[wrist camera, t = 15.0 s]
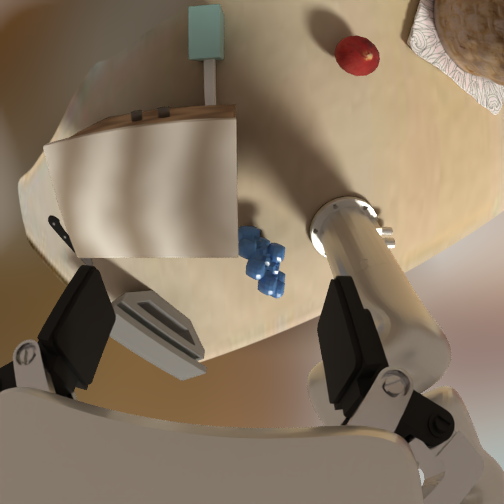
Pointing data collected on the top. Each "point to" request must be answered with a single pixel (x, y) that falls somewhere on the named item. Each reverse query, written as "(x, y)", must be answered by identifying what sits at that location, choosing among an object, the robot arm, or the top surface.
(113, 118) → the cabinet
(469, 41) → the cookie jar
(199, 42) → the sage green block
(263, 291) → the grapes
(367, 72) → the onion
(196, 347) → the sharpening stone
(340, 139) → the top surface
